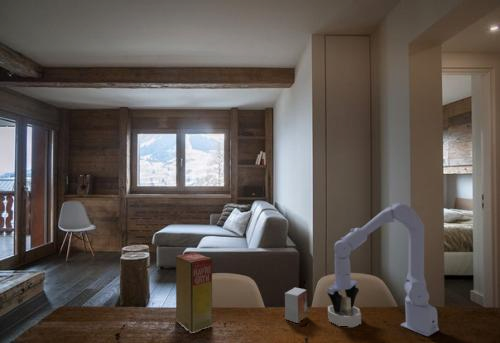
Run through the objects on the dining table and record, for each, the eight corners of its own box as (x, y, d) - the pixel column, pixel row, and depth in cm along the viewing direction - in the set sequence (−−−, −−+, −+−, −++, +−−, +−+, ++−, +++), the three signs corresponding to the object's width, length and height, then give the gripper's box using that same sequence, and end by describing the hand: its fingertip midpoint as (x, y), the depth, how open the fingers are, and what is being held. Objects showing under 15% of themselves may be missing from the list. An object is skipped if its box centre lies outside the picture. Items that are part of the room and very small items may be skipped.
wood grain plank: (351, 318, 112) (350, 297, 113) (347, 319, 111) (346, 299, 111) (340, 313, 116) (339, 294, 117) (336, 315, 115) (336, 295, 116)
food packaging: (214, 326, 110) (213, 257, 111) (190, 335, 104) (190, 262, 105) (196, 314, 120) (195, 252, 121) (174, 322, 115) (174, 255, 116)
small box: (298, 325, 110) (297, 295, 111) (285, 321, 114) (284, 292, 114) (308, 317, 117) (307, 289, 117) (295, 313, 120) (294, 286, 120)
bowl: (367, 321, 112) (366, 311, 112) (346, 330, 106) (346, 319, 106) (342, 310, 122) (341, 301, 122) (321, 318, 115) (321, 308, 115)
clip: (353, 317, 114) (353, 309, 114) (343, 321, 110) (343, 313, 111) (344, 313, 117) (344, 306, 117) (334, 317, 114) (334, 309, 114)
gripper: (346, 267, 122) (347, 301, 121) (321, 273, 114) (322, 310, 113) (361, 271, 116) (362, 307, 115) (336, 278, 108) (337, 317, 107)
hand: (343, 309), depth 114 cm, fingers open, 7 cm apart
